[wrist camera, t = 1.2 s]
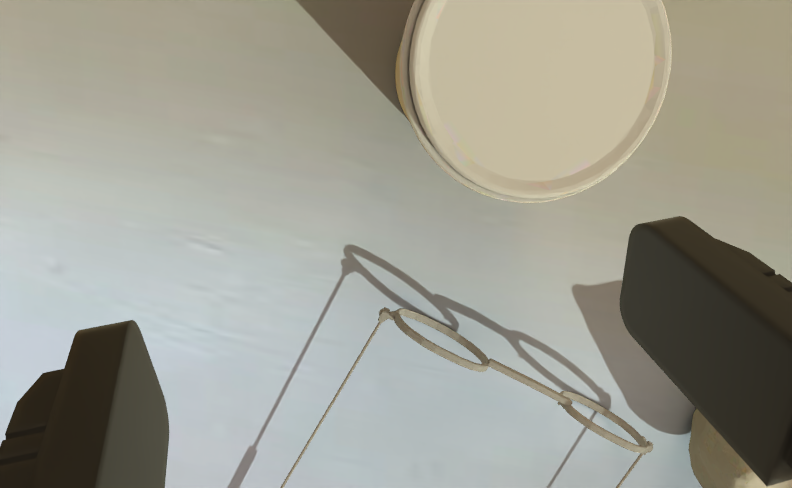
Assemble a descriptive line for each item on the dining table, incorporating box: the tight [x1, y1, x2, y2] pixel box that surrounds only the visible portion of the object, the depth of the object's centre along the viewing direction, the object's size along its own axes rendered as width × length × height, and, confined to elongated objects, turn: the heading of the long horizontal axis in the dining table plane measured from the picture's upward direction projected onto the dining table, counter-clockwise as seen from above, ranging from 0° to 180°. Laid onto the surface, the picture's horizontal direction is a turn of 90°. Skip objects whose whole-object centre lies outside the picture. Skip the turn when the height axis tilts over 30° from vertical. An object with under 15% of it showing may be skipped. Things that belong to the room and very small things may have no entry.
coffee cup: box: [395, 0, 671, 203], centre depth 26 cm, size 9×9×12 cm
